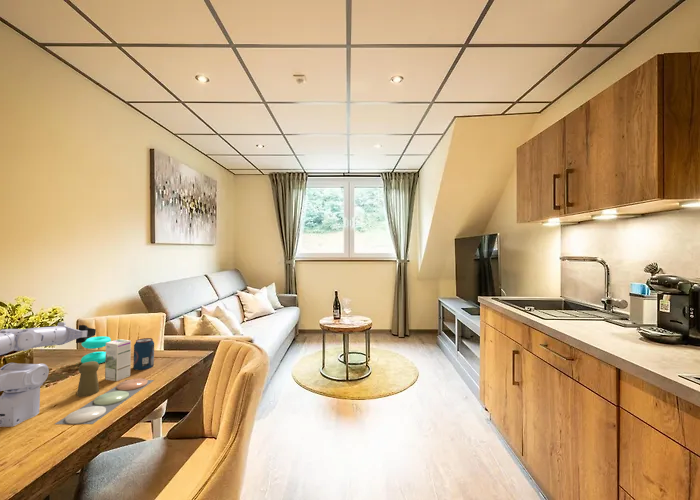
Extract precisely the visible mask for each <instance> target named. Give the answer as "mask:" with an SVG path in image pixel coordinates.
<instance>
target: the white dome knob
mask: <svg viewBox="0 0 700 500" xmlns="http://www.w3.org/2000/svg"><path fill="white" fill-rule="evenodd" d="M105 413H106V408H105V407H103V406H91V407H86V408H82V409H80V408H79V410H78V409H76V410H75V411H72V412H70V413H69V414H67V415H66V416H65V417H66V418H65V417H64V418H65V422H66V423H68V424H67V425H81V424H80V423H85V422H89V421H92V420H95V419H97V418H99V417H101V416H103V415H104V414H105ZM103 417H104V416H103Z"/></svg>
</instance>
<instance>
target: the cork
mask: <svg viewBox="0 0 700 500" xmlns="http://www.w3.org/2000/svg"><path fill="white" fill-rule="evenodd" d="M99 367H100V364H98V362H95V361H90V362H85V363H83V364H82V363H81V364H80V365H79V367H78V373H79V374H80V376H79V380H78V387H77V392H76V396H77V397H79V398H84V397H90V396H92V395H93V396H94V395H96V394H98V393H99V392H100V388H99V386H100V385H99V380H98V379H99V378H98V371H99Z"/></svg>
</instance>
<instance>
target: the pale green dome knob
mask: <svg viewBox="0 0 700 500" xmlns="http://www.w3.org/2000/svg"><path fill="white" fill-rule="evenodd" d="M104 393H105V394H104ZM104 393H103V394H99V395H98V396H96V397H95V398H94V399H93V400H94V404H95V405H99V406H104V405H111V404H115V403H119V402H121V401H124V400H125V399H127V398H128V397H129V393H128V392H126V391H114V392H109V393H106V392H104ZM127 400H128V399H127ZM124 402H125V401H124Z"/></svg>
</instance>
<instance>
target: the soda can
mask: <svg viewBox="0 0 700 500" xmlns="http://www.w3.org/2000/svg"><path fill="white" fill-rule="evenodd" d="M154 361H155V342H154V339H153V338H151V337H150V338H149V337H146V338H145V337H143V338H139V339H136V340H135V343H134V345H133V362H132V363H133V367H132V368H133V370H135V371H144V370H149V369H152V368H153V367H154V364H155V362H154Z"/></svg>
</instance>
